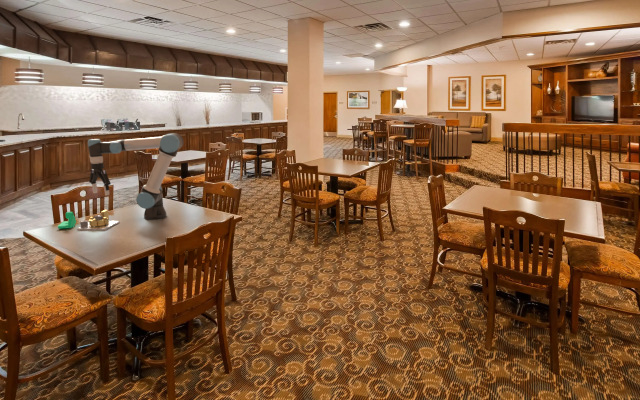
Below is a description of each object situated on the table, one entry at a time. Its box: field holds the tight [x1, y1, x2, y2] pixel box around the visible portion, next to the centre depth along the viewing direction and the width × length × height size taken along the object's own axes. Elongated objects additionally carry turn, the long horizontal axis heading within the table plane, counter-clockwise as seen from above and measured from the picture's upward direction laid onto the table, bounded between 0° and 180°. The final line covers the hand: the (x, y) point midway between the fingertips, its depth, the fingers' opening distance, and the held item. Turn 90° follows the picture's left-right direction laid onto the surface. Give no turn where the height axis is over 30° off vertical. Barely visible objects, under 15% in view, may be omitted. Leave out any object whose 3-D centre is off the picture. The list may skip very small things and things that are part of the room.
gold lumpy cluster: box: [88, 209, 110, 226], centre depth 268 cm, size 16×11×7 cm
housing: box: [77, 214, 120, 231], centre depth 266 cm, size 19×18×7 cm
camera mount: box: [57, 211, 77, 230], centre depth 264 cm, size 12×8×10 cm, turn 16°
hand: (101, 194), depth 270 cm, fingers open, 13 cm apart
